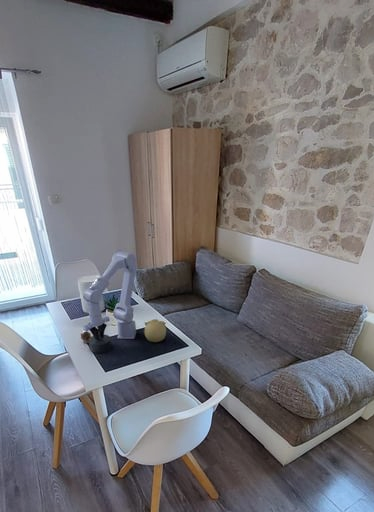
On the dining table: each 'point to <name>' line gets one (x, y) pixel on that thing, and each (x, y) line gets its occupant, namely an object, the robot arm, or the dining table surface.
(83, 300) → the canister
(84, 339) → the mushroom
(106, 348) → the pot
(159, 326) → the sculpture
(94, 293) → the robot arm
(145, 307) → the dining table surface
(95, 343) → the lid
